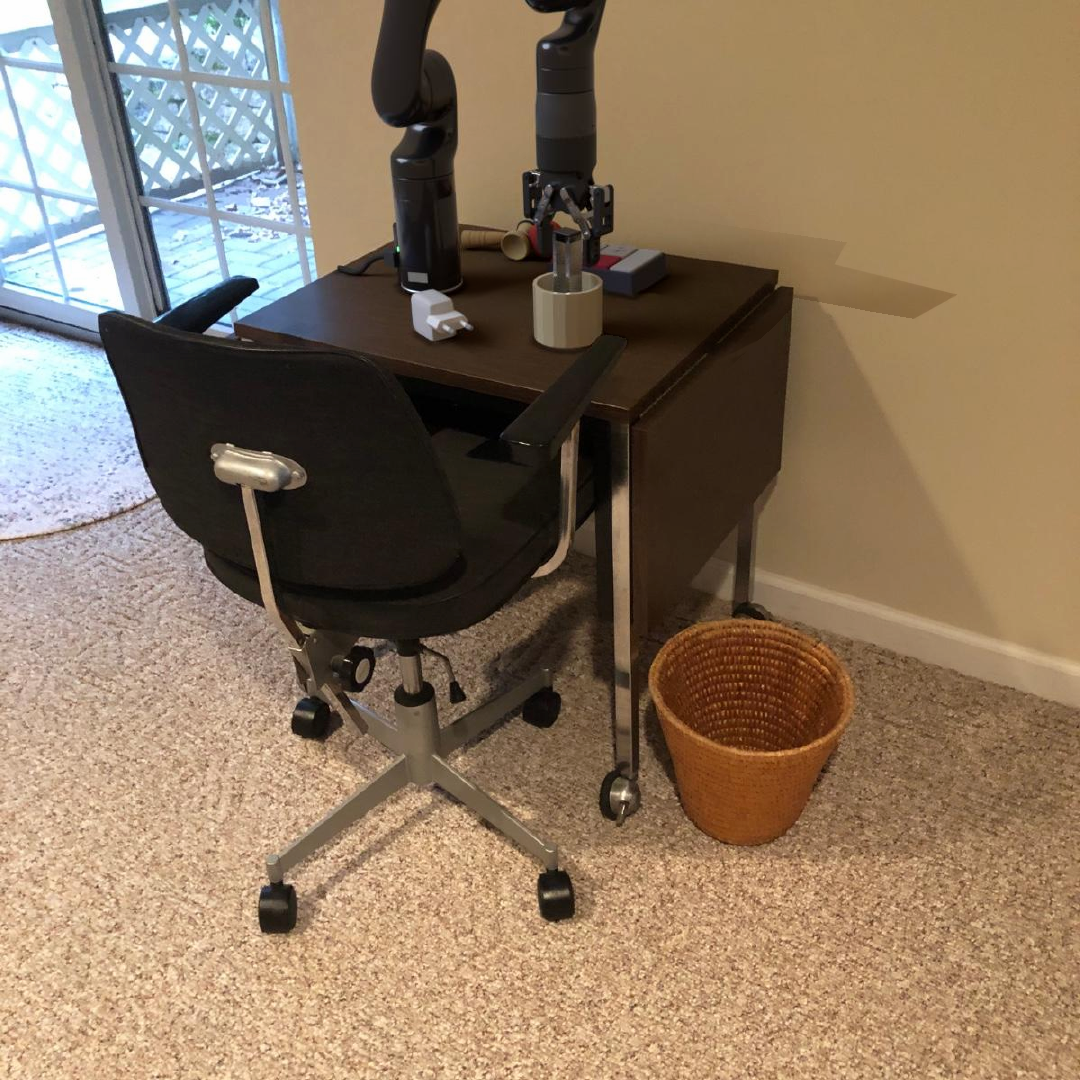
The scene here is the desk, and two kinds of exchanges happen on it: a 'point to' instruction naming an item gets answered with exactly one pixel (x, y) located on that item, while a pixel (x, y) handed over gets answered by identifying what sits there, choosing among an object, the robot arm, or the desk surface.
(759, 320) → the desk surface
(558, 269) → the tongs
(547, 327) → the crock
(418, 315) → the power adapter
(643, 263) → the calculator
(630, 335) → the desk surface
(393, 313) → the desk surface
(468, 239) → the kendama
